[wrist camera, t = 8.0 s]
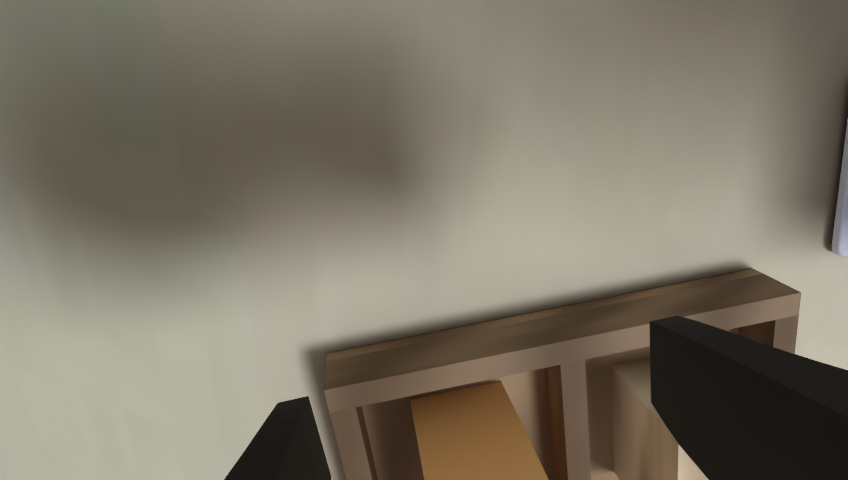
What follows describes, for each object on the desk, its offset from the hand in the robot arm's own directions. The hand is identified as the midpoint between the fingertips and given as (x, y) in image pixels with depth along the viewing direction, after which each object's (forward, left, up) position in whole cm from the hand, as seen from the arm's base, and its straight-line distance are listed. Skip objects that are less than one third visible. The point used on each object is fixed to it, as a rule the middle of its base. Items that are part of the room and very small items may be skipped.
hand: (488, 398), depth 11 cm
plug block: (0, +10, -10) cm, 14 cm away
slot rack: (-5, +10, -10) cm, 15 cm away
